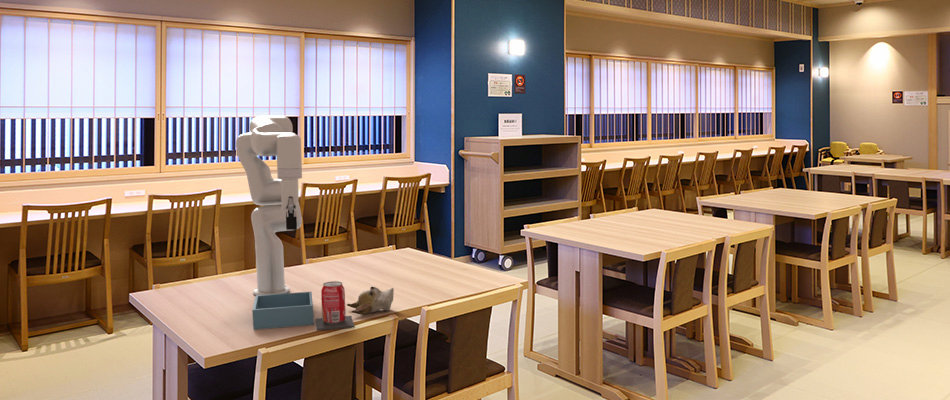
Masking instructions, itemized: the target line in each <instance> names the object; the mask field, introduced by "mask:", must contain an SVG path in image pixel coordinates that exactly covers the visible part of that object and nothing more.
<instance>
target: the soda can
mask: <svg viewBox="0 0 950 400" xmlns="http://www.w3.org/2000/svg"><path fill="white" fill-rule="evenodd" d="M345 291H346V290H345V287H344V286H343V281H342V282H341V281H336V280H335V281H334V280H333V281H327V282H324V283H323V284H322V288H321V299H320V300H321V316H322V317H321V318H323V321H324V322H326V323H327V324H339V323H341V322H342V321H344V320H345V316H346V294H345V293H346V292H345Z"/></svg>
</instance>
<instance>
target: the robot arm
mask: <svg viewBox="0 0 950 400" xmlns="http://www.w3.org/2000/svg"><path fill="white" fill-rule="evenodd" d="M248 127H249V132H245V133H242V134H240V135H239V136H237V137H236V140H235V149H236V155H237V157H238V159H239V162H240V164H241V165H242V168H243V169H244V171H245V174H246V177H247V183H248V189H249V192H250V193H249V194H250V197H251V200H252V202H253V204H254V205H257V206H258V207H256V208H255V209H253V210H252V212H251V216H250V220H251V225H252V229H253V235H254V245H255V246H254V247H255V263H256V264H255V267H256V283H257V287H256V288H254V289H253V290H252V294H253V295H255V296H257V295H270V294H284V293H290V287H289V286H288V285H286V283H285V281H286V280H285V263H284V262H285V261H284V260H285V259H284V244H283V242H282V240H281V239H280V237H278V236H277V234H276V233H278V232H287V231H296V230H298V229H300V228H301V226H302V223H303V217H302V210H301V207H300V202H299V180H300V179H302V178H303V167H302V164H303V162H302V138H301V137H300V135H298V134H296V133H295V132H293V130H294V129H293V123H292V121H291V119H290V118H289V117H288V116H287V115H260V116H255V117H254V118H253V119H252V120H251V121H250V123H249V126H248ZM258 156H260V157H276V169H277V170H276V171H277V172H276V173H277V178H273V177H272V171H271V169H270V167H269V165H268V164H267V163H266V162H265V161H264V160H263V159H261V158H260V157H258Z"/></svg>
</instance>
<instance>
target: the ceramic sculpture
mask: <svg viewBox="0 0 950 400" xmlns="http://www.w3.org/2000/svg"><path fill="white" fill-rule="evenodd" d="M394 289H395V288H393V287H391V288H389V289H386V290H383V291H382V290H381V289H379V288H378V287H376V286H370V288H369V290H364V291H362V292H361V293H360V294H359V295H358V296H357V297H358V299H357V301H356V302H353V303H346V306H347V307H350V308H353V309H354V310H352V311H351V313H353V314H357V315H365V314H373V313H375V312H377V311H380V310H384V311H387V312H388V311H390V310H391V307H392V303H393V302H394V293H395V292H394Z"/></svg>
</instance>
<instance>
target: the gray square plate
mask: <svg viewBox="0 0 950 400" xmlns="http://www.w3.org/2000/svg"><path fill="white" fill-rule="evenodd" d="M315 327H316V328H315V329H316V331H317V330H319V331H330V330H332V331H333V330H341V329H342V330H343V329H353V328H352V327H354V328H355V324H354V320H353V318H352V315H345V320H344V321H342V322H341V323H339V324H327V323H326V322H324V321H323V318H322V317H317V318H315Z"/></svg>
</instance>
